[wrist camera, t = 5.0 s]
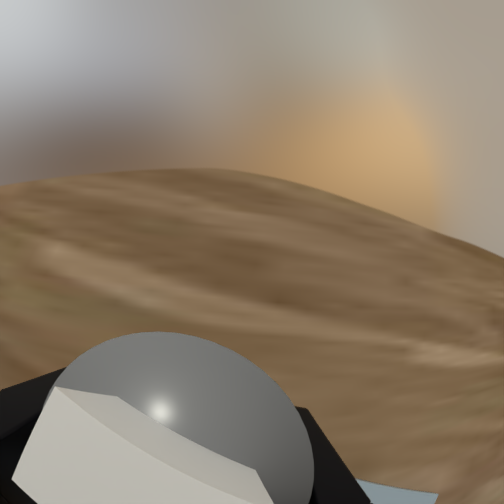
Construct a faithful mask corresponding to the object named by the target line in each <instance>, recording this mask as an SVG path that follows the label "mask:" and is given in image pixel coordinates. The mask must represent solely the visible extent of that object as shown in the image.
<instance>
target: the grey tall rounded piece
mask: <svg viewBox="0 0 504 504" xmlns="http://www.w3.org/2000/svg"><path fill="white" fill-rule="evenodd" d="M12 480H13V481H14V482H15V483H16V484H17V485H18V486H19V487H20V488H21V489H22V490H23V491H24V492H25V493H26V494H27V495H29V496H30V497H31V498H32V499H33V500H34V501H35V502H36V503H38V504H308V503H309V500H310V497H311V493H312V487H313V481H314V460H313V453H312V447H311V443H310V440H309V436H308V433H307V430H306V428H305V425H304V423H303V421H302V419H301V417H300V415H299V413H298V411H297V410H296V408H295V407H294V405H293V403H292V402H291V400H290V399H289V397H288V396H287V395H286V394H285V393H284V391H283V390H282V389H281V388H280V387H279V385H278V384H277V383H276V382H275V381H274V380H272V379H271V378H270V377H269V376H268V375H267V374H266V373H265V372H264V371H263V370H261V369H260V368H259V367H257V366H256V365H255V364H253V363H252V362H251V361H249V360H248V359H246V358H244V357H243V356H241V355H239V354H238V353H236V352H234V351H232V350H230V349H228V348H226V347H224V346H221V345H219V344H217V343H214V342H212V341H208V340H205V339H202V338H199V337H195V336H190V335H185V334H179V333H169V332H142V333H135V334H130V335H124V336H121V337H117V338H114V339H111V340H108V341H105V342H103V343H101V344H99V345H97V346H95V347H93V348H91V349H90V350H88V351H86V352H85V353H83V354H82V355H80V356H79V357H78V358H77V359H75V360H74V361H73V362H72V363H71V364H70V365H69V366H67V368H66V369H65V370H64V371H63V372H62V373H61V375H60V376H59V377H58V378H57V380H56V381H55V383H54V385H53V386H52V388H51V389H50V391H49V394H48V396H47V398H46V400H45V403H44V405H43V409H42V412H41V414H40V416H39V418H38V420H37V422H36V425H35V427H34V429H33V431H32V433H31V435H30V437H29V440H28V442H27V444H26V446H25V448H24V451H23V453H22V455H21V458H20V460H19V462H18V465H17V467H16V470H15V472H14V475H13V477H12Z"/></svg>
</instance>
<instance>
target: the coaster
mask: <svg viewBox="0 0 504 504" xmlns="http://www.w3.org/2000/svg"><path fill="white" fill-rule="evenodd" d="M355 479H356V481H357V482H358V483H359V485H360V486H361V488H362V489H363V490H364V492H365V493H366V495H367V496H368V497H369V499H370V500H371V502H370V503H373V504H434V503H435V501H436V499H437V497H438V494H436V493H432V492H424V491H417V490H410V489H404V488H398V487H393V486H388V485H383V484H378V483H373V482H369V481H365V480H361V479H357V478H355Z"/></svg>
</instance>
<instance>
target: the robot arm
mask: <svg viewBox="0 0 504 504" xmlns="http://www.w3.org/2000/svg"><path fill="white" fill-rule="evenodd" d="M66 368H67V367H65V368H62V369H59V370H57V371H54V372H51V373H48V374H46V375H43V376H40V377H37V378H34V379H31V380H28V381H26V382H23V383H20V384H17V385H14V386H11V387H8V388H5V389H2V390H1V391H0V504H38V503H36V502H35V501H34V500H33V499H32V498H31V497H30V496H29V495H27V494H26V493H25V492H24V491H23V490H22V489H21V488H20V487H19V486H18V485H17V484H16V483H15V482H14V481H13V480H12V477H13V475H14V472H15V470H16V467H17V465H18V462H19V460H20V458H21V455H22V453H23V451H24V448H25V446H26V444H27V442H28V440H29V437H30V435H31V433H32V431H33V429H34V427H35V425H36V422H37V420H38V418H39V416H40V414H41V412H42V409H43V405H44V403H45V400H46V398H47V396H48V394H49V391H50V389H51V388H52V386H53V385H54V383H55V381H56V380H57V378H58V377H59V376H60V375H61V373H62V372H63V371H64V370H65V369H66ZM294 407H295V408H296V410H297V411H298V413H299V415H300V417H301V419H302V421H303V423H304V425H305V428H306V430H307V433H308V436H309V440H310V443H311V447H312V453H313V460H314V481H313V487H312V493H311V497H310V500H309V503H308V504H373V503H370V502H371V500H370V499H369V497H368V496H367V495H366V493H365V492H364V490H363V489H362V488H361V486H360V485H359V483H358V482H357V481H356V479H355V478H354V476H353V475H352V474H351V472H350V471H349V469H348V468H347V466H346V465H345V464H344V462H343V461H342V459H341V458H340V456H339V455H338V453H337V452H336V451H335V449H334V448H333V446H332V445H331V443H330V442H329V440H328V439H327V437H326V436H325V434H324V433H323V431H322V430H321V428H320V427H319V426H318V424H317V423H316V421H315V420H314V418H313V417H312V415H311V414H310V412H309V411H308V409H306V408H302V407H296V406H294Z"/></svg>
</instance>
